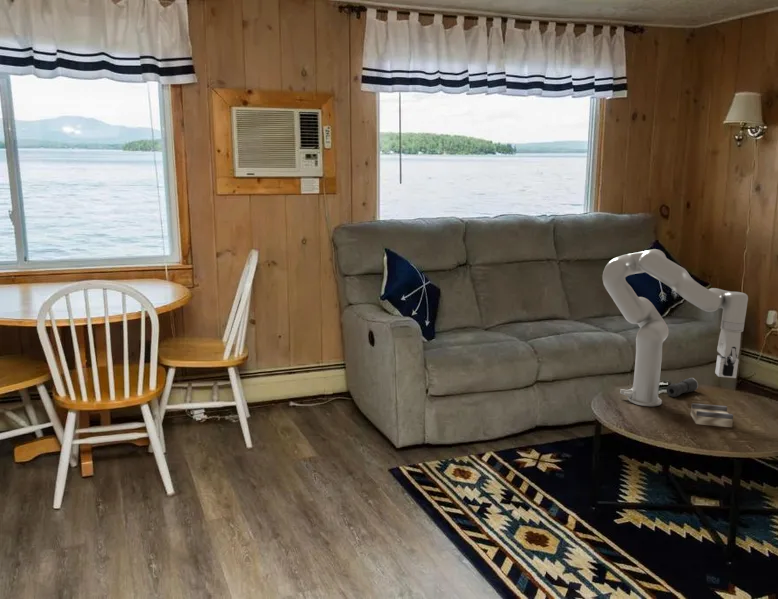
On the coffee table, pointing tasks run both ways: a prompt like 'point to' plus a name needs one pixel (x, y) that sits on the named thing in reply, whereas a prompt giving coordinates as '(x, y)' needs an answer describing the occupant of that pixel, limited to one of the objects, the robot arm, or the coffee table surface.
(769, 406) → the coffee table surface
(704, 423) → the cradle
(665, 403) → the coffee table surface
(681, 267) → the robot arm
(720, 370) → the tall white block
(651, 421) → the coffee table surface
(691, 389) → the flashlight
